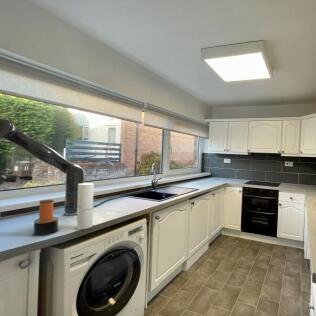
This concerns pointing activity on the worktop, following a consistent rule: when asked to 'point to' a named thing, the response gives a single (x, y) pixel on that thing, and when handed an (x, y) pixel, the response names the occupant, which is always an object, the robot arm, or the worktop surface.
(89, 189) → the cylindrical container
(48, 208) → the orange tin
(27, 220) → the worktop surface
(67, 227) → the worktop surface
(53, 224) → the black canister
